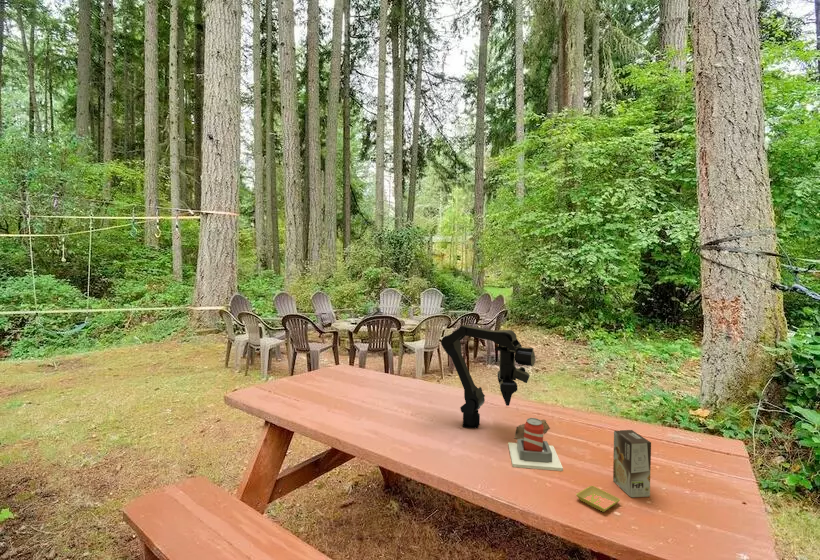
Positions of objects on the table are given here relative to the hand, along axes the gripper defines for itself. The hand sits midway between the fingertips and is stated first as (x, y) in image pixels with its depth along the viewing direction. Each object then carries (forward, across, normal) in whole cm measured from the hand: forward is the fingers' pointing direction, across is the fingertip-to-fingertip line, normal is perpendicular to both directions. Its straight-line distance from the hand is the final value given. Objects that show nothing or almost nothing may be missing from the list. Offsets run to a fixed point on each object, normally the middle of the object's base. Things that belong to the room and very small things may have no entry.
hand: (506, 401), depth 156 cm
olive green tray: (+14, -42, -22) cm, 49 cm away
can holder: (+13, -18, -8) cm, 24 cm away
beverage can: (+12, -18, -8) cm, 23 cm away
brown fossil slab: (+14, +6, -11) cm, 18 cm away
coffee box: (+13, -33, -34) cm, 49 cm away
